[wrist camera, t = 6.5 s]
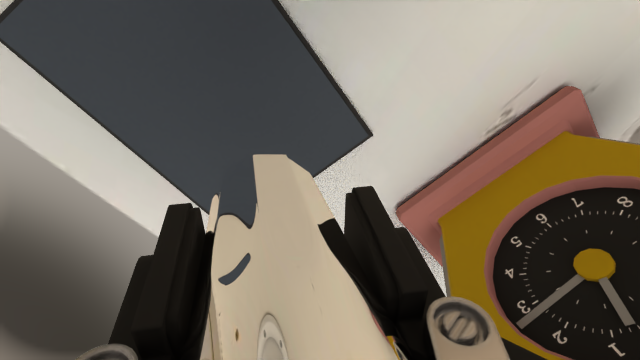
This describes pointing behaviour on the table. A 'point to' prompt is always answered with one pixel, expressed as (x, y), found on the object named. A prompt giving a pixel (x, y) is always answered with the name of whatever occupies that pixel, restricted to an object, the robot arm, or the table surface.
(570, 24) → the table surface
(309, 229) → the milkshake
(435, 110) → the table surface
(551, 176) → the clock
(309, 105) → the mouse pad
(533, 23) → the table surface
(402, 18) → the table surface
